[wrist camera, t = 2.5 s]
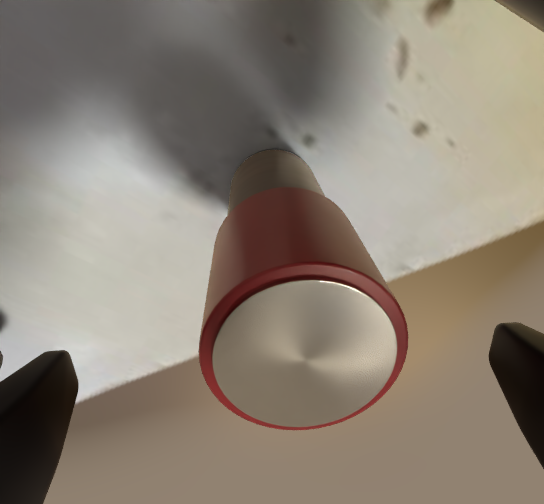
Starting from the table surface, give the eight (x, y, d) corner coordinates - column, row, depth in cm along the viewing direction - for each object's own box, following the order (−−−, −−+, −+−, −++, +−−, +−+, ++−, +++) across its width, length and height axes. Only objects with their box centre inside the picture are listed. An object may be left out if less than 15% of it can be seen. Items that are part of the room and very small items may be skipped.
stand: (316, 146, 19) (348, 191, 13) (316, 229, 20) (344, 302, 15) (226, 152, 19) (217, 200, 13) (234, 235, 20) (229, 310, 15)
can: (358, 181, 13) (422, 258, 8) (353, 309, 15) (402, 428, 10) (206, 191, 13) (183, 275, 8) (221, 318, 15) (210, 443, 10)
